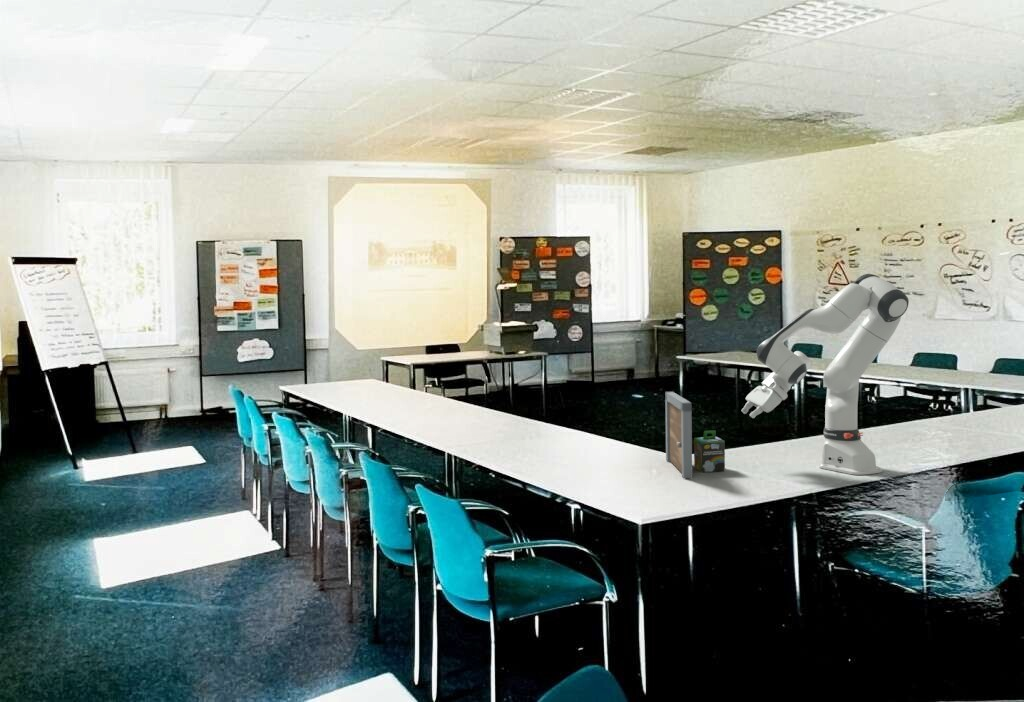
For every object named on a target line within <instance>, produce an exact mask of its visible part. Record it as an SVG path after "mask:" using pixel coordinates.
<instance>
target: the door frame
mask: <svg viewBox="0 0 1024 702" xmlns="http://www.w3.org/2000/svg"><path fill="white" fill-rule="evenodd" d="M664 393H665V394H664V395H665V400H664V401H665V411H664V412H665V460H666V461H667V462H668V463H669V462H670V463H672V462H671V461H670V403H671V404H673V405H674V406H676V407H677V408H678V409H680V410H681V438H682V473H681V478H682V477H683V478H692V479H693V437H692V436H693V435H692V434H693V430H692V429H693V426H692V425H693V424H692V422H693V421H692V420H693V419H692V418H693V416H692V413H693V412H692V411H693V410H692V406H693V405H692V402H691V401H689V400H688V399H686V398H684V397H683V396H681V395H679V394H677V393H675V392H674V391H665V392H664ZM683 478H682V479H683Z"/></svg>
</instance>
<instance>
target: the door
mask: <svg viewBox="0 0 1024 702" xmlns="http://www.w3.org/2000/svg"><path fill="white" fill-rule="evenodd" d="M670 461H671V462H670V463H672V464H673V466H674V467H676V468H677V469H678V471H679V472H680V473H681V474H682V438H681V410H680V409H678V408H677V407H676V406H674V405H673V404H671V403H670Z"/></svg>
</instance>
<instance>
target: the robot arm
mask: <svg viewBox="0 0 1024 702" xmlns="http://www.w3.org/2000/svg"><path fill="white" fill-rule="evenodd" d="M909 302H910V301H909V297H908V296H907V294H905V292H904V291H903V290H900V289H899V288H897V286H896V285H894V284H893V283H891V282H889V281H887V280H885V279H884V278H881V277H880V276H878V275H876V274H872V273H864V274H862V275H861V276H859V277H858V278H856V279H855V280H854V282H851V283H849V284H846V285H845V286H844V287H843V288H842V289H840V290H838V292H837V293H836V294H834V295H833V297H831V298H830V300H828V302H827V303H825V304H824V305H823V306H821V307H819V308H815V309H814V308H809V309H807V310H805V311H803V312H802V313H801V314H799V315H798V316H797V317H795V318H794V319H793V320H791V321H790V322H789V323H787V324H786V325H784V326H783V327H782V328H781V329H779V330H778V331H777V332H776V333H774V334H773V335H771V336H770V337H768V338H767V339H765V340H764V341H762V342H761V343H760V344H759V345H758V346H757V349H756V359H757V360H758V361H759V362H761V363H762V364H763V365H765V366H766V367H767V368H769V369H770V370H771V371H772V372H770V373H769V374H768V376H766V378H764V380H763V381H762V382H761V385H758V386H756V387H755V388H754V389H752V390H751V391H750V392H749V393H748V394H747V395H746V397H745V400H746V401H747V402H746V403H745V405H744V406H743V408H742V409H741V412H742V413H743V414H744V415H745V414H747V413H748V412H749V410H750V409H751V408H753V406H754V407H756V408H755V409H754V410H753V411H751V412H750V413H749V417H750V418H752V419H755V418H756V416H758V415H760V414H762V413H763V412H766V413H770V412H772V411H773V410H774V409H775V408H776V407H777V406H779V405H780V404H781V402H782V401H785V400H786V399H787V398H788V396H789V395H788V392H789V391H790V389H791V387H792V386H793V385H797V384H799V383H801V381H803V379H804V378H805V377H806V376H807V374H808V373H807V372H808V370H809V368H810V367H811V365H812V362H811V360H810V357H808V356H807V354H805V353H803V352H802V351H800V350H796V351H794V352H793V351H792V350H790V349H789V348H788V347H787V346H786V345H785V342H786V341H787V340H788V339H790V338H791V337H792V336H794V335H795V334H797V333H798V332H799V331H800V330H803V329H806V328H808V329H809V328H810V329H814V330H817V331H820V332H822V333H827V334H831V335H837V334H841V333H843V332H844V331H846V330H847V329H848V328H850V326H851V325H853V323H854V322H855V321H856V320H857V319H858V318H859V317H860V315H861V314H862V313H863V312H864V311H866V310H869V314H868V315H866V317H865V318H864V319H863V320H862V322H860V324H859V326H858V327H857V328H856V329H855V331H854V332H853V333H852V335H851V336H850V338H849V339H848V340H847V342H846V343H845V344H844V346H842V348H841V349H840V351H839V352H837V355H836V356H835V357H834V358H833V360H831V362H830V363H829V365H828V366H827V367H826V369H825V371H824V372H823V383H824V385H825V386H826V397H825V405H824V407H825V409H824V410H825V411H824V418H825V421H824V423H825V424H824V427H823V437H824V443H823V446H822V451H821V452H822V453H821V461H820V464H819V469H823V470H824V469H825V470H829V471H833V472H837V473H838V472H839V473H843V474H848V475H857V476H861V475H863V476H864V475H873V474H880V473H883V471H884V468H882V467H880V466H877V461H876V456H875V453H874V452H873V451H872V450H871V449H870V448H869V447H868V446H867V444H865V442H864V441H862V436H864V435H863V432H860V431H859V428H858V404H859V403H858V402H859V386H860V378H861V377H862V376H863V374H864V373H865V372H866V371H867V369H868V368H869V367H870V365H871V364H872V363H873V362H874V360H875V359H876V358H877V357H878V355H879V354H880V352H881V351H882V349H883V348H884V347H885V346H886V345H887V343H888V342H889V341H890V340H891V338H892V336H893V335H894V333H895V332H896V330H897V328H898V326H899V324H900V322H901V318H902V316H903V315H904V314H905V313H906V312H907V310H908V308H909Z"/></svg>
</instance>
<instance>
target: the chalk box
mask: <svg viewBox="0 0 1024 702" xmlns="http://www.w3.org/2000/svg"><path fill="white" fill-rule="evenodd" d="M716 433H717V431H716V429H715V430H704V431H703V434H702V435H703V436H701V437H694V438H693V459H694V460H693V461H694V468H695V469H697V470H698V471H699V472H701V473H715V472H716V473H718V472H719V473H720V472H726V464H725V463H726V454H725V453H726V452H725V450H726V449H725V448H726V447H725V444H726V443H725V441H726V440H723V439H722V438H720V437H718V436H716ZM709 434H711V436H708V435H709Z"/></svg>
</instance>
